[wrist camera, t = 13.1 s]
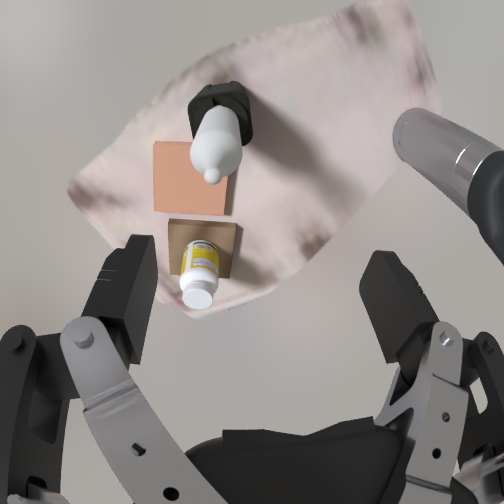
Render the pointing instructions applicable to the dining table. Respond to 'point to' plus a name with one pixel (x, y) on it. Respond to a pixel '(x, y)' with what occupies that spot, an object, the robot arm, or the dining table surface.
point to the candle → (219, 129)
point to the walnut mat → (195, 230)
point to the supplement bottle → (199, 274)
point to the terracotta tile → (183, 182)
